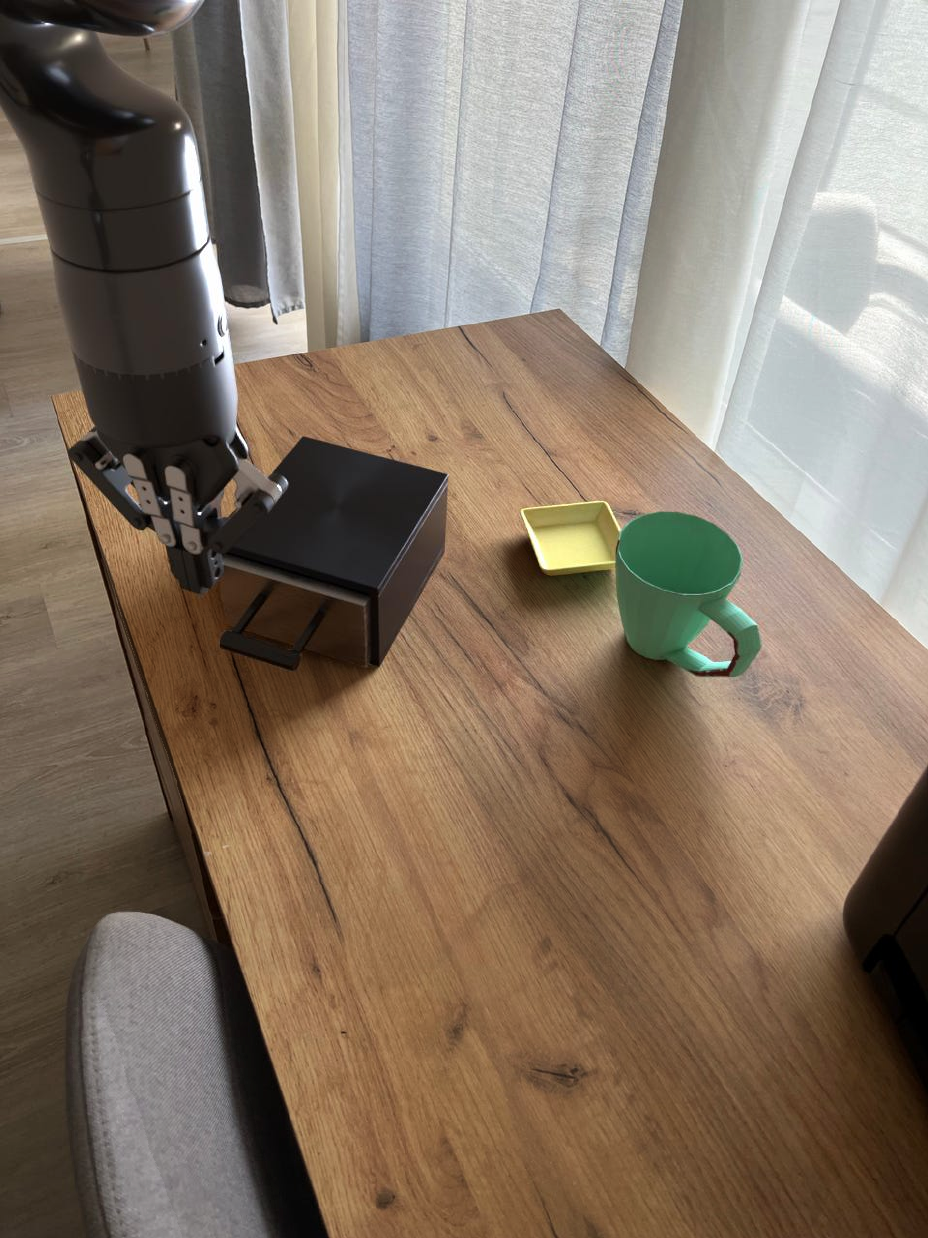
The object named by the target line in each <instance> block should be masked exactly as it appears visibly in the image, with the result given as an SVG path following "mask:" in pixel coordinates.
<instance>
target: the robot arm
mask: <svg viewBox="0 0 928 1238" xmlns="http://www.w3.org/2000/svg"><path fill="white" fill-rule="evenodd" d="M204 2H205V0H0V110H1V112H2V114H3V116H4V117H5V119H6V121H7V122H8V124H9V126H10V127H11V129H12V131H13V132H14V135H15V136H16V138H17V141H18V142H19V143H20V145H21V148H22V149H23V151H24V154H25V157H26V160H27V163H28V167H29V173H30V177H31V181H32V184H33V189H34V192H35V196H36V199H37V200H36V201H37V203H38V206H39V211H40V214H41V218H42V221H43V226H44V230H45V233H46V237H47V242H48V244H49V249H50V255H51V260H52V267H53V276H54V284H55V292H56V297H57V301H58V306H59V309H60V313H61V316H62V320H63V323H64V327H65V330H66V335H67V338H68V342H69V346H70V350H71V353H72V356H73V360H74V364H75V369H76V371H77V376H78V379H79V384H80V386H81V390H82V395H83V398H84V401H85V405H86V408H87V412H88V416H89V418H90V420H91V422H92V423H93V425H94V426H93V427H92V428H91V429H90V430H88V431H87V432H86V433H85V434H84V435H83V436H82V437H81V438H80V439H79V440H77V441H76V442H75V443H74V444H73V445H72V446H71V447H69V448H68V452H67V453H68V456H69V459H71V461H72V462H73V463H74V464H75V465H76V466H77V467H78V469H79V470H80V471H81V472H82V473H83V474H84V475H85V476H86V478H88V479H89V480H90V482H91V483H92V484H93V485H94V486H95V487H96V488H97V489H98V490H99V491H100V492H101V494H102V495H103V496H104V497H105V498H106V499H107V500H108V501H109V503H110V504H111V505H112V506H113V507H114V508H115V509H116V510H117V511H118V513H120V515H121V516H122V517H123V518H124V519H125V520H126V521H127V522H128V523H129V524H130V525H131V527H133V529H136V530H138V531H145V530H146V529H147V528H148V529H150V530H151V531H153V532H155V534H156V537H157V539H158V541H159V542H160V543H161V544H162V545H163V546H164V547H165V550H166V555H167V559H168V565H169V568H170V569H169V570H170V572H171V574H172V576H173V577H174V579H175V580H177V581H178V586H179V588H180V589H181V590H183V591H185V592H186V591H187V592H189V593H193V594H197V595H200V596H204V595H206V594H207V593H208V591H209V590H212V589H213V587H214V586H215V585H216V584H217V582H219V578H220V577H221V576H222V575H223V572H224V566H223V560H222V554H226V553H227V552H228V551H229V550H230V549H231V548H232V547H233V546H234V545H235V544H236V543H237V542H238V541H239V540H241V539H242V538H243V537H244V536H245V535H246V534H247V533H248V532H249V531H250V530H251V529H252V528H253V527H254V526H255V525H256V524H258V523H259V522H260V521H261V520H262V519H263V518H264V517H265V516H266V515H267V514H268V512H269V511H270V510H271V509H272V507H273V506H274V505H275V504H276V503H277V501H278V500H279V499H280V498H281V496H282V495H283V494H284V492H285V491H286V490H287V489H288V482H287V480H286V479H285V478H284V477H283V476H282V475H280V474H278V473H272V472H271V473H270V474H269V475H268V476H266V475H265V474H264V473H263V472H262V471H261V470H260V469H258V468H257V467H256V466H255V465H254V464H253V463H252V462H251V461H250V460H249V448H248V445H247V442H246V441H245V439H244V438H243V436H242V434H241V433H240V430H239V428H238V426H237V416H238V405H239V404H238V403H239V395H238V389H237V381H236V374H235V365H234V359H233V352H232V351H233V350H232V344H231V338H230V330H229V317H228V314H227V308H226V301H225V294H224V293H225V292H224V287H223V280H222V275H221V271H220V268H219V264H218V261H217V257H216V254H215V251H214V247H213V243H212V237H211V232H210V227H209V220H208V211H207V205H206V197H205V191H204V184H203V177H202V168H201V162H200V161H201V159H200V154H199V148H198V141H197V137H196V133H195V129H194V126H193V123H192V121H191V118H190V116H189V115H188V113H187V111H186V110H185V108H184V107H183V106H182V105H181V104H180V103H179V101H177V100H176V99H175V98H174V97H173V96H171V95H170V94H168V93H166V92H164V91H162V90H160V89H158V88H156V87H155V86H153V85H151V84H149V83H147V82H145V81H143V80H141V79H139V78H138V77H137V76H135V75H133V74H131V73H129V72H128V71H127V70H125V69H124V68H123V67H121V66H120V65H119V64H118V63H117V62H116V61H115V60H113V58H112V56H111V55H109V52H108V51H107V49H106V47H105V46H104V43H103V42H102V40H101V37H100V36H99V33H100V34H104V35H110V36H116V37H120V38H121V37H123V38H130V39H150V38H151V39H152V38H157V37H162V36H164V35H167V34H170V33H171V32H174V31H176V30H177V29H179V28H180V27H182V26H183V25H185V24H186V23H188V22H189V21H190V20H191V19H192V18H193V17H194V16H195V14H197V12H198V11H199V10H200V9H201V6H203V4H204ZM232 480H233V481H234V484H235V486H236V488H235V491H234V494H233V495H234V498H235V501H234V502H233V506H234V507H235V508H234V510H233V511H232V512H231V513H230V514H229V515H228V516H222V501H223V499H224V496H225V488H226V487H227V486H228V485H229V483H230V482H231V481H232ZM129 485H131V486H132V487H133V488H134V489H135V492H136V495H137V498H138V501H139V503H137V501H136V500H135V499H134V498H133V497H132V496H131V495H130V493H129V492H128V491H127V490H128V489H127V487H128V486H129Z"/></svg>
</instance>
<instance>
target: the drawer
mask: <svg viewBox="0 0 928 1238" xmlns="http://www.w3.org/2000/svg"><path fill="white" fill-rule="evenodd" d="M222 560H223V566H224V572H223V575H222V576H221V577H220V578H219V580H218V582H219V583H218V584H219V588H220V594H221V599H222V604H223V611H224V615H225V621H226V625H227V626H230V627H232V628H231V630H229V629H226V630H224V631H223V632H222V634H221V636H220V638H219V643H218V644H219V648H220V649H221V650H223V651H226V652H230V653H232V654H236V655H238V656H242V657H245V658H248V659H251V660H255V661H258V662H261V663H265V664H267V665H270V666H273V667H277V668H280V669H282V670H286V671H290V672H296V671H297V670H298V668H299V667H300V664H301V661H302V653H303V652H304V651H305V650H308V651H310V652H314V653H317V654H321V655H324V656H326V657H330V658H334V659H336V660H340V661H343V662H346V663H349V664H353V665H356V666H358V667H362V668H365V669H366V668H367V667H368V666H369V665H370V664H369V662H370V661H371V659H372V634H371V596H369V595H368V593H364V592H361V591H357V592H355V591H352V590H349V589H345V588H342V587H338V586H335V585H332V584H328V583H325V582H321V581H318V580H315V579H311V578H308V577H304V576H301V575H299V573H296V572H293V571H289V570H286V569H283V568H279V567H276V566H272V565H269V564H266V563H262V562H259V561H255V560H252V559H249V558H245V557H243V558H240V557H236V556H233V555H230V554H222ZM244 632H250V633H253V634H256V635H259V636H263V637H265V638H269V639H272V640H276V641H278V642H282V643H285V644H288V645H291V646H293V647H292V648H287V647H284V646H281V645H278V644H276V643H275V644H274V643H272V642H269V641H265V640H262V639H259V638H256V637H252V636H248V635H245V634H243V633H244Z"/></svg>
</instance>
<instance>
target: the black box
mask: <svg viewBox="0 0 928 1238" xmlns="http://www.w3.org/2000/svg"><path fill="white" fill-rule="evenodd" d="M272 473H278V474H280V475H282V476H283V477H284V478H285V479H286V480H287V482H288V489H287V490H286V491H285V492H284V494H283V495H282V496H281V498H280V499H279V500H278V501H277V503H276V504H275V505H274V506H273V507H272V509H271V510H270V511H269V512H268V514H267V515H266V516H265V517H264V518H263V519H262V520H261V521H260V522H259V523H258V524H256V525H255V526H254V527H253V528H252V529H251V530H250V531H249V532H248V533H247V534H246V535H245V536H244V537H243V538H242V539H241V540H239V541H238V542H237V543H236V544H235V545H234V546H233V547H232V548H231V549H230V550H229V551H228V552H227V553H226V554H230V555H233V556H236V557H240V558H243V557H245V558H249V559H252V560H255V561H259V562H262V563H266V564H269V565H272V566H276V567H279V568H283V569H286V570H289V571H293V572H296V573H300V574H303V575H307V576H310V577H313V578H317V579H320V580H324V581H327V582H330V583H334V584H337V585H341V586H344V587H347V588H351V589H354V590H358V591H361V592H364V593H368V595H369V596H371V634H372V659H371V661H370V662H369V664H368V665H370V666H374V667H377V668H380V667H381V666H382V663H383V661H384V660H385V658H386V656H387V655H388V653H389V651H390V649H391V648H392V646H393V644H394V643H395V641H396V639H397V638H398V635H399V634H400V631H402V628H403V627H404V624H405V623H406V622H407V620H408V617H409V616H410V614H411V612H412V610H413V609H414V607H415V605H416V604H417V601H418V600H419V598H420V596H421V594H422V593H423V591H424V589H425V587H426V585H427V584H428V583H429V581H430V579H431V577H432V575H433V573H434V572H435V570H436V568H437V566H438V564H439V563H440V561H441V559H442V557H443V556H444V554H445V552H446V551H445V550H446V536H447V535H446V534H447V533H446V532H447V516H448V515H447V514H448V513H447V512H448V496H449V495H448V494H449V474H448V473H446V472H442V471H438V470H434V469H431V468H427V467H422V466H419V465H416V464H411V463H407V462H403V461H401V460H400V461H399V460H396V459H392V458H388V457H384V456H381V455H377V454H373V453H369V452H366V451H361V450H358V449H354V448H351V447H347V446H342V445H339V444H335V443H331V442H328V441H324V440H320V439H317V438H312V437H308V436H305V435H302V436H301V438H300V439H299V440H298V441H297V443H296V444H294V446H293V447H292V448H291V449H290V450H289V452H288V453H287V454H286V456H284V458H283V459H282V461H280V463H279V464H278V465H276V467H275V469H274V470H273V471H272V472H271V474H272Z"/></svg>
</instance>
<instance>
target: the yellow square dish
mask: <svg viewBox="0 0 928 1238" xmlns="http://www.w3.org/2000/svg"><path fill="white" fill-rule="evenodd" d="M519 514H520V517H521V520H522V523H523V525H524V528H525V531H526V533H527V537H528V538H529V541H530V544H531V546H532V549H533V551H534V555H535V558H536V560H537V562H538V565H539V568H540V570H541V572H542V573H543V574H544V575H546V576H551V577H554V576H555V577H556V576H563V575H571V574H580V573H587V572H588V573H589V572H597V571H598V572H599V571H606V570H607V571H608V570H615V553H616V546H617V541H618V536H619V532H620V531H621V530H622V529H621V528H620V526H619V524H618V521H617V520H616V518H615V515H614V513H613V510H612V509H611V507H610V505H609V503H608V502H606V501H603V500H595V501H586V502H576V503H568V504H555V505H546V506H535V507H525V508H521V509H520V510H519Z"/></svg>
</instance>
